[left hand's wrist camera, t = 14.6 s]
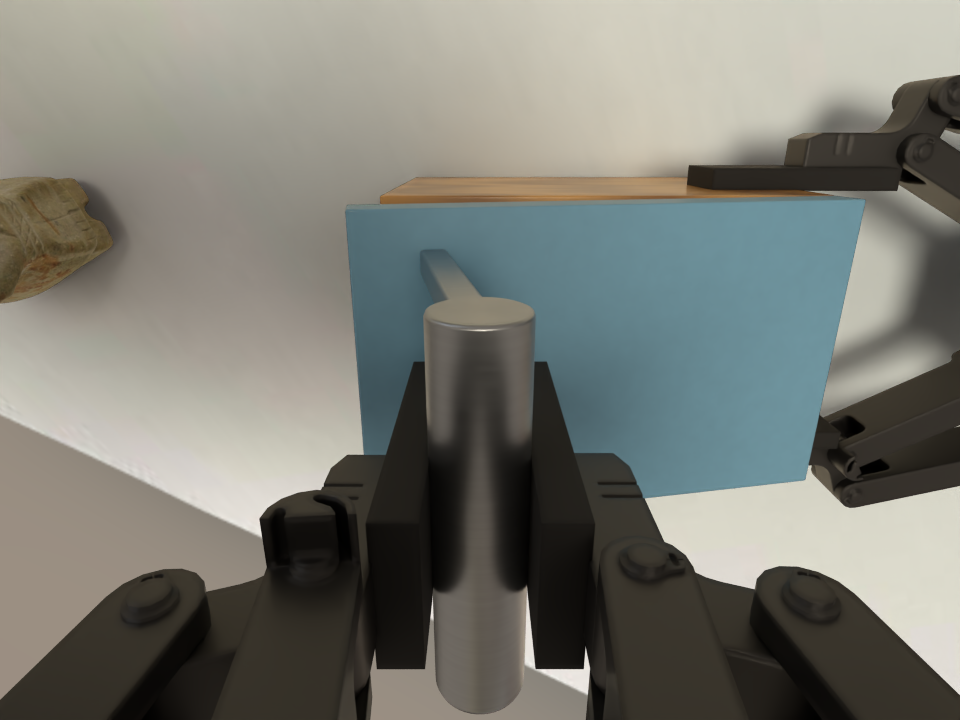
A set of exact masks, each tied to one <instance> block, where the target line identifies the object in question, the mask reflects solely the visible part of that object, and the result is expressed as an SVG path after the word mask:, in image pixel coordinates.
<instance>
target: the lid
mask: <svg viewBox="0 0 960 720" xmlns="http://www.w3.org/2000/svg"><path fill="white" fill-rule="evenodd" d="M865 202H866V200H865V199H858V198H849V197H840V196H797V197H743V198H688V199H634V200H580V201H525V202H471V203H417V204H362V205H347V206H346V211H345V214H346V227H347V240H348V253H349V266H350V279H351V292H352V305H353V318H354V331H355V345H356V358H357V371H358V384H359V397H360V410H361V423H362V436H363V449H364V455H386V452H387V449H388V446H389V442H390V439H391V436H392V432H393V429H394V426H395V422H396V419H397V416H398V412H399V409H400V406H401V402H402V399H403V396H404V392H405V389H406V386H407V382H408V379H409V376H410V372H411V369H412V366H413V362H425V380H426V409H427V438H428V457H429V471H430V500H431V530H432V560H433V611H434V640H435V667H436V682H437V686H438V688H439V691H440V692H441V694H442V696H443V697H444V698H445V699H446V701H447V702H448V703H450V704H451V705H452V706H454V707H455V708H457V709H459V710H461V711H464V712H467V713H471V714H488V713H492V712H496V711H499V710H501V709H503V708H505V707H506V706H507V705H509V704H510V703H511V702H512V701H513V700H514V699H515V698H516V697H517V695H518V694H519V692H520V690H521V688H522V685H523V681H524V661H525V630H526V600H527V564H528V534H529V504H530V474H531V450H532V420H533V390H534V361H535V362H547V363H548V367H549V370H550V373H551V377H552V380H553V384H554V387H555V390H556V394H557V397H558V400H559V404H560V407H561V410H562V414H563V417H564V420H565V424H566V427H567V430H568V434H569V437H570V440H571V444H572V447H573V450H574V453H614V454H615V455H616V456H618V457H619V458H620V459H621V460H623V461H624V462H625V463H626V464H628V465H629V466H630V468H631V470H632V472H633V474H634V477H635V479H636V481H637V485H639V488H640V490H641V492H642V494H643V498H651V497H660V496H669V495H678V494H687V493H696V492H705V491H714V490H723V489H732V488H741V487H750V486H758V485H767V484H776V483H785V482H794V481H803V480H805V478H806V474H807V469H808V465H809V460H810V455H811V451H812V446H813V442H814V437H815V432H816V428H817V423H818V418H819V414H820V409H821V405H822V400H823V395H824V391H825V386H826V382H827V377H828V372H829V368H830V363H831V359H832V354H833V349H834V345H835V340H836V335H837V331H838V326H839V322H840V317H841V312H842V308H843V303H844V299H845V294H846V289H847V285H848V280H849V276H850V271H851V266H852V262H853V257H854V252H855V248H856V243H857V239H858V234H859V229H860V225H861V220H862V216H863V211H864V206H865Z"/></svg>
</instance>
